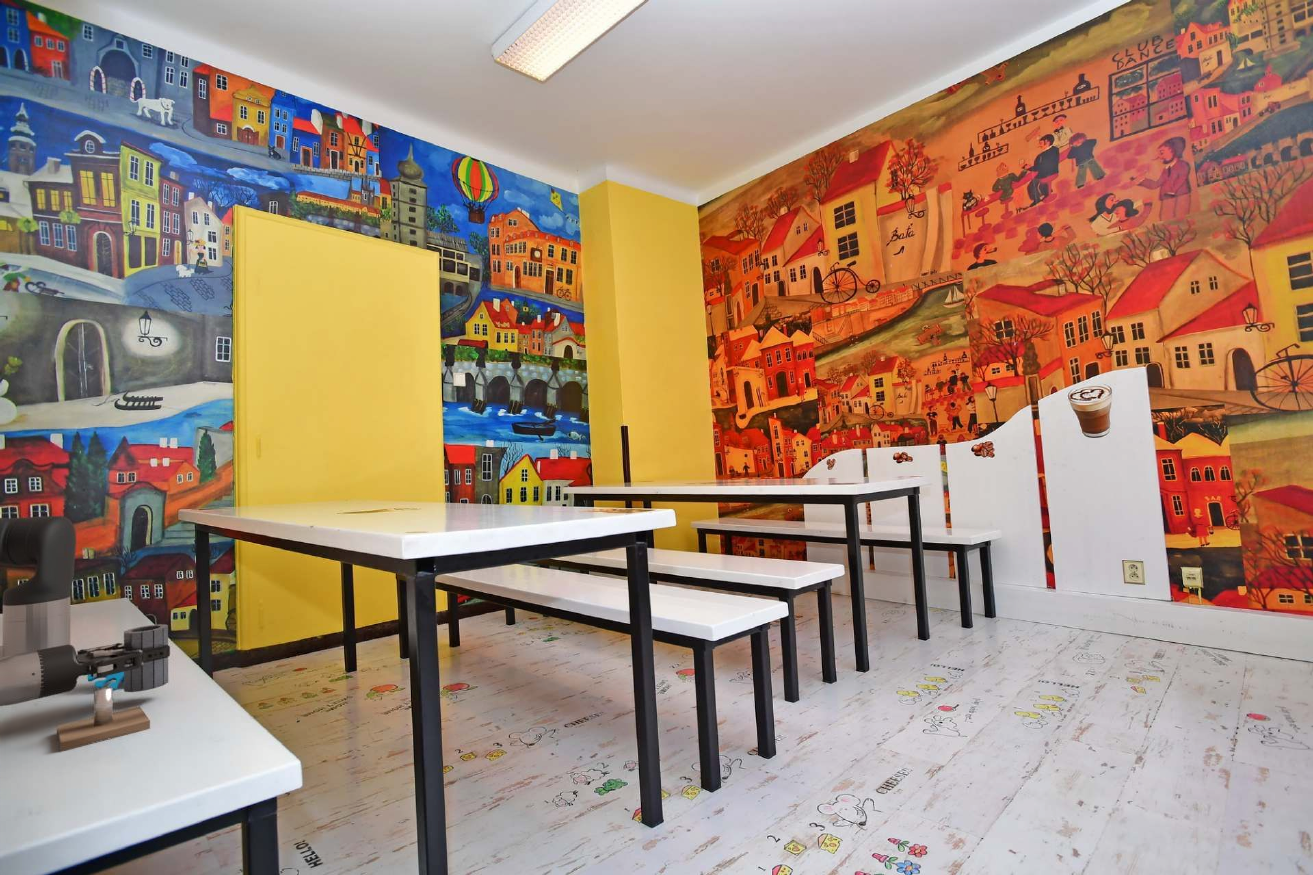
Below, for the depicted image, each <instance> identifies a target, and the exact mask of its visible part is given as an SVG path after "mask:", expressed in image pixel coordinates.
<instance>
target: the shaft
mask: <svg viewBox="0 0 1313 875" xmlns="http://www.w3.org/2000/svg"><path fill="white" fill-rule="evenodd" d="M113 713H114V691H113V687H108V686H105V687H104V686H103V687H102V688H100V689H97V688H96V689H94V690H93V717H94V726H102V725H106V724H109V723H111V722H113Z"/></svg>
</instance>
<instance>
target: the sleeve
mask: <svg viewBox="0 0 1313 875" xmlns="http://www.w3.org/2000/svg"><path fill="white" fill-rule="evenodd" d="M123 644H124V649H126V650H127V651H134V650H138V649H141V650H142V649H147V648H152V647H157V646H161V645H169V625H168V624H161V623H159V624H150V625H144V626H138V627H133V628H129V629H127V630H125V631H123ZM126 662H127V663H131V662H133V659H132V658H129V659H126ZM168 683H169V657H168V658H164V659H159V660H155V661H150V662H146V663H143V665H142V667H140V668H138V669H132V670H128V671H124V681H123V690H124V692H125V693H136V692H137V693H139V692H144V691H149V690H153V689H157V688H160V687H163V686H165V685H166V684H168Z"/></svg>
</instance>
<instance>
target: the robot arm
mask: <svg viewBox="0 0 1313 875" xmlns="http://www.w3.org/2000/svg"><path fill="white" fill-rule="evenodd" d="M76 548H77V532H76V528H75V526H74V524H73V522H72V520H71V519H70V518H68V517H66V516H64V515H62V516H61V515H55V516H54V515H50V516H47V515H45V516H35V517H34V516H31V517H30V516H29V517H12V518H11V517H10V518H7V517H0V565H3V566H8V567H26V566H36V568H35V573H34V574H33V576H32V577H31V578H29V579H27V580H26V581H24V582H21V583H19V584H17V585H13V586H11V587H8V588H6V589H5V590H4V592H3V593H2V645H0V707H4V706H5V707H6V706H12V705H17V704H21V703H26V702H29V701H33V700H38V699H43V698H46V697H51V696H56V695H61V694H64V693H65V694H66V693H68V692H72V691H73V690H74V689H75V688H76V686H77V684H78V678H80V677H82V676H84V677H85V676H88V675H90V674H91V677H95V676H97V678H98V679H103V678H102V677H104V676H108V675H112V674H116V673H120V672H124V671H128V670H132V669H138V668H140V667H142V665H143V663H146V662H150V661H155V660H159V659H164V658H168V659H169V657H170V656H171V646H170V645H169V644H168V645H161V646H157V647H152V648H147V649H142V650H141V649H138V650H134V651H127V650H126V649H124V643H122V642H117V643H113V644H108V645H103V646H102V645H101V646H98V647H97V646H96V647H91V648H85V649H80V650H77V651H76V649H75V647H74V645H72V644H71V590H72V589H71V588H72V585H73V582H74V579H75V578H74V576H75V563H76V562H75V560H76ZM129 658H132V659H133V662H131V663H127V662H126V659H129Z"/></svg>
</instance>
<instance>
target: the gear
mask: <svg viewBox="0 0 1313 875" xmlns="http://www.w3.org/2000/svg"><path fill="white" fill-rule="evenodd" d="M86 676H87V677H86V678H87V682H93V681H95V680H96V681H95V682H94V683H93V684H94V687H95V688H96V689H100V688H104V686H105V685H106V684H108V683H109V684H108V685H107V687H113V690H114V691H117V689H118V686H119V685H120V683H121V681H123V682H124V672H120V673H116V674H112V675H108V676H104V677H102V678H101V679H103V678H104V679H103V680H98V679H99V678H97V676H95V677H91V674H90V675H86ZM112 681H113V682H112ZM110 682H111V683H110Z"/></svg>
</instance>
